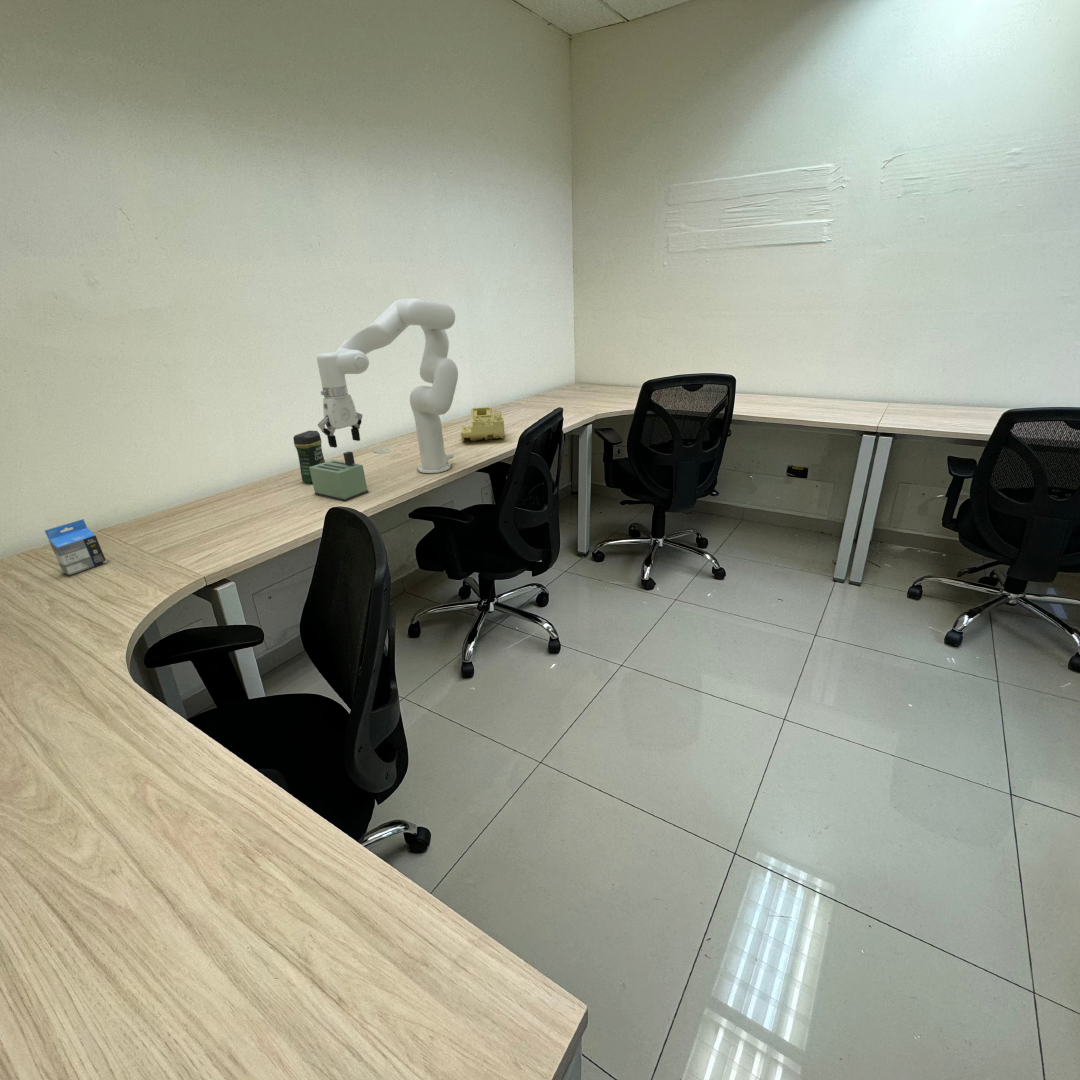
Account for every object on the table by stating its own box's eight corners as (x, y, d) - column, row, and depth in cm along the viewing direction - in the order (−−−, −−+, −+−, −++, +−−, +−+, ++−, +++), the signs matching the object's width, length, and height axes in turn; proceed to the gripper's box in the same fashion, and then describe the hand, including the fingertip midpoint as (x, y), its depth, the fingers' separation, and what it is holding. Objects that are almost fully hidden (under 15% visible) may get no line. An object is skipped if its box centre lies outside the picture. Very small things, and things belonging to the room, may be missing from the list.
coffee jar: (316, 484, 205) (305, 435, 197) (299, 483, 207) (287, 434, 200) (333, 476, 213) (323, 429, 205) (316, 475, 216) (305, 428, 208)
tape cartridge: (69, 576, 144) (49, 533, 139) (63, 573, 146) (43, 530, 141) (107, 562, 151) (89, 521, 146) (101, 559, 153) (83, 518, 148)
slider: (351, 462, 192) (348, 451, 190) (354, 463, 191) (352, 452, 189) (345, 464, 190) (343, 453, 188) (349, 465, 189) (347, 453, 187)
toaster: (338, 485, 202) (332, 459, 198) (368, 492, 194) (362, 464, 190) (315, 494, 195) (308, 467, 191) (345, 501, 187) (339, 472, 182)
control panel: (456, 405, 259) (498, 398, 261) (463, 436, 268) (503, 428, 269) (458, 424, 240) (503, 416, 241) (465, 456, 249) (508, 448, 250)
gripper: (320, 397, 172) (331, 451, 179) (364, 388, 185) (372, 439, 192) (305, 395, 176) (316, 448, 183) (349, 387, 189) (358, 437, 196)
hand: (345, 443), depth 187 cm, fingers open, 9 cm apart
